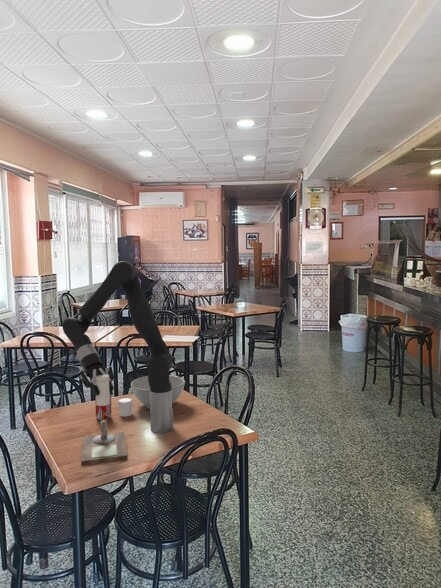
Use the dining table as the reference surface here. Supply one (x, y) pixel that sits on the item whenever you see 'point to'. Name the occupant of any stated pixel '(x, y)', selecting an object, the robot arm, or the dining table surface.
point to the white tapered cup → (125, 406)
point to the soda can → (103, 411)
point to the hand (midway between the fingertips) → (105, 392)
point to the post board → (103, 447)
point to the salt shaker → (102, 390)
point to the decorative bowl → (143, 389)
